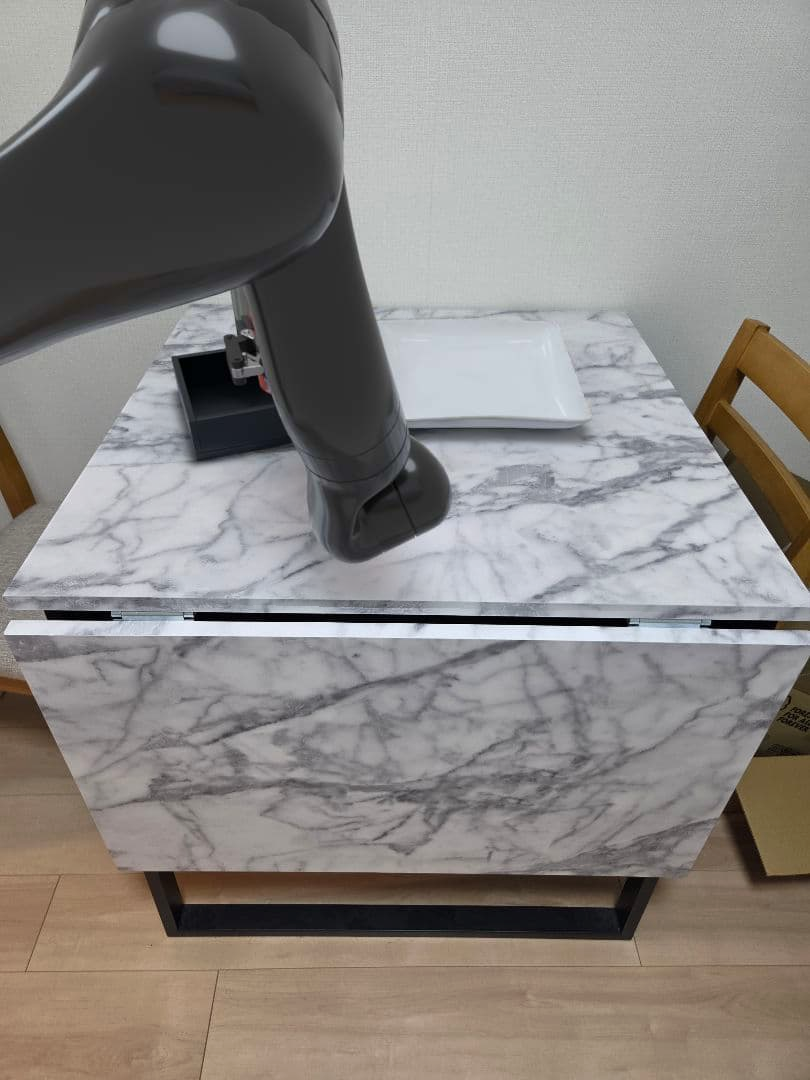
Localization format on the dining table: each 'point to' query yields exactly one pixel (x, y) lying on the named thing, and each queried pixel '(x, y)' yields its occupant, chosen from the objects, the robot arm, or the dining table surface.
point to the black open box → (225, 407)
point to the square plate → (483, 374)
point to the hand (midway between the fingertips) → (281, 318)
